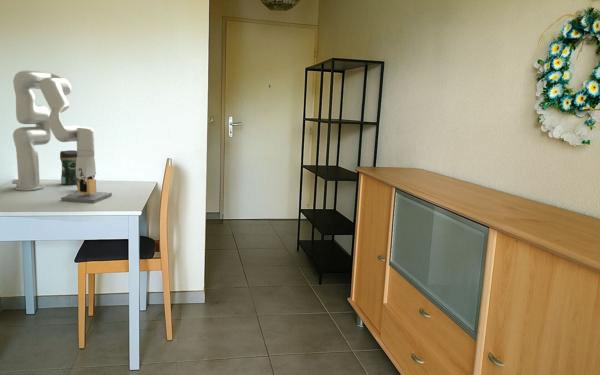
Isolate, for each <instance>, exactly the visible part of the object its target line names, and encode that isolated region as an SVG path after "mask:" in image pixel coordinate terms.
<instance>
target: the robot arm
mask: <svg viewBox="0 0 600 375" xmlns="http://www.w3.org/2000/svg"><path fill="white" fill-rule="evenodd" d="M12 83H13V84H12V85H13V89H14V94H15V115H16V121H17V123H20V124H21V125H22V124H23V125H35V126H22V127H18V128H16V129H15V130H14V131H13V133H12V140H13V142H14V147H15V153H16V154H15V155H16V163H17V165H16V166H17V168H16V169H17V179H13V180H12V181H11V184H12V185H16V186H15V187H14V189H15V190H17V191H23V192H24V191H27V192H28V191H38V190H43V189H44V185H42V184H41V183H40V164H39V153H38V151H37V149H36V148H35V146H43V145H47V144H49V142H50V141H51V135H52V134H53V136H54V137H55V139H56V140H57V141H58V142H61V143H68V142H76V151H77V159H76V178H77V179H78V181H79V184H80V192H87V184H85V183H86V178H87V179H95V177H96V175H97V172H96V159H95V134H94V133H95V130H94V128H92V127H90V126H82V125H64V124H63V122H62V121H61V117H60V114H61V113H63V112H65V111H67V110H68V109H69V107H70V103H69V101H68V99H67V98H66V96H68V95H70V94H71V92H72V85H71V83H70V82H69V81H68V80H67V78H63V77H61V76H59V75H57V74H54V73H51V72H47V71H39V70H38V71H36V70H21V71H18V72H16V73H15V75H14V77H13V81H12ZM33 89H35V90H40V91H41V93H42V95H43V97H44V99H45V101H46V103H47V105H48V107H49V108H48V107H46V106H44V105H42V104H39V105H37V104H36V101H37V100H36V96H35V93H34V92H33ZM49 109H50V110H49ZM51 132H52V133H51ZM82 176H84V177H82ZM82 178H83V179H84V180H83V179H82Z"/></svg>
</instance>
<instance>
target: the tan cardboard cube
mask: <svg viewBox="0 0 600 375" xmlns="http://www.w3.org/2000/svg"><path fill="white" fill-rule="evenodd" d="M83 180H84V179H83ZM85 184H87V192H80V184H79V181H77V185H78V188H77V192H78V193H84V194H91V193H94V192H97V179H95V178H94V179H86V183H85ZM77 185H76V186H77Z"/></svg>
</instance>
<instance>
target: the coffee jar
mask: <svg viewBox="0 0 600 375" xmlns="http://www.w3.org/2000/svg"><path fill="white" fill-rule="evenodd" d="M76 159H77V150H75V149H74V150H72V149H71V150H61V151H60V153H59V160H60V161H61V175H60V176H61V179H60V183H61V184H62V185H68V186H72V185H74V186H75V185H76V182H75V178H74V177H76Z"/></svg>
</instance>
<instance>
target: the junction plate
mask: <svg viewBox="0 0 600 375" xmlns="http://www.w3.org/2000/svg"><path fill="white" fill-rule="evenodd" d="M112 196H113V192H103V191H96V192H94V193H91V194H84V193H78V191H76V192H73V193H70V194H67V195H65V196H64V195H63V196H61V197H60V199H61V200H60V201H62V202H76V203H90V204H95V203H97V202H100V201H102V200H105V199H107V198H110V197H112Z"/></svg>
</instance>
